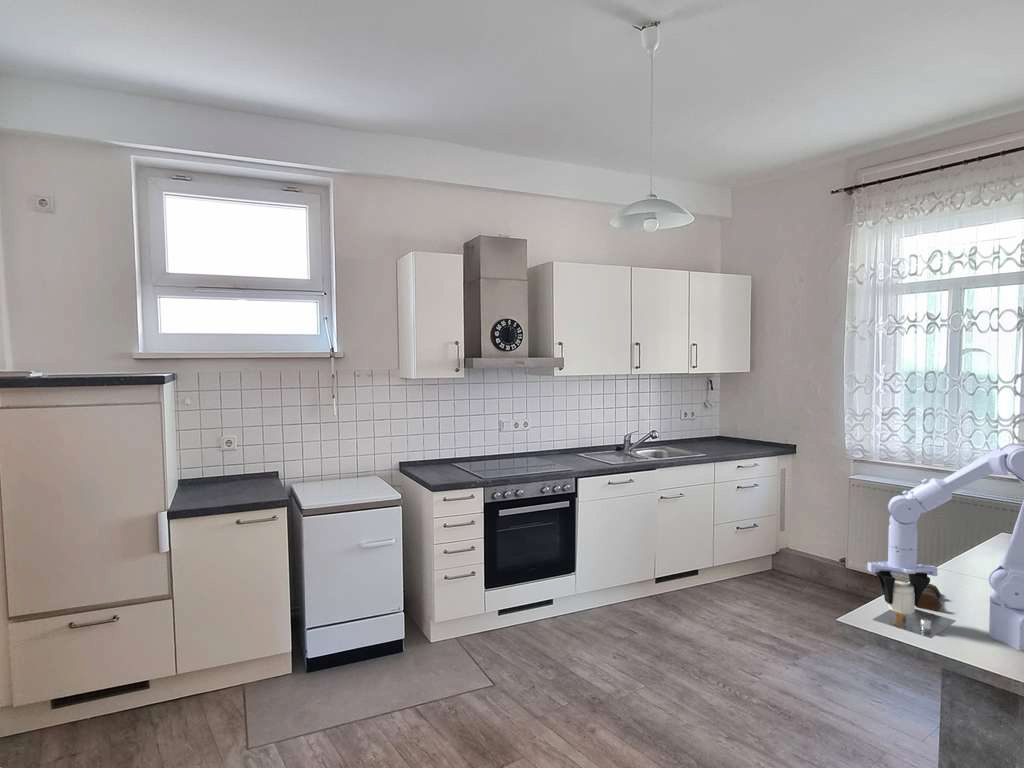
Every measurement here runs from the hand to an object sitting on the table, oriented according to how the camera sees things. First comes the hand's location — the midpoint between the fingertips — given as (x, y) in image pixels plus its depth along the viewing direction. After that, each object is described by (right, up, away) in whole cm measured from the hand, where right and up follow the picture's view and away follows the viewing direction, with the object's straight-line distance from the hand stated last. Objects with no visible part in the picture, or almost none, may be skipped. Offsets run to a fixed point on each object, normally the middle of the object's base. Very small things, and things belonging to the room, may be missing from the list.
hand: (901, 603), depth 139 cm
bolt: (+15, -5, +12) cm, 20 cm away
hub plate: (+3, -5, 0) cm, 6 cm away
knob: (0, -2, 0) cm, 2 cm away
